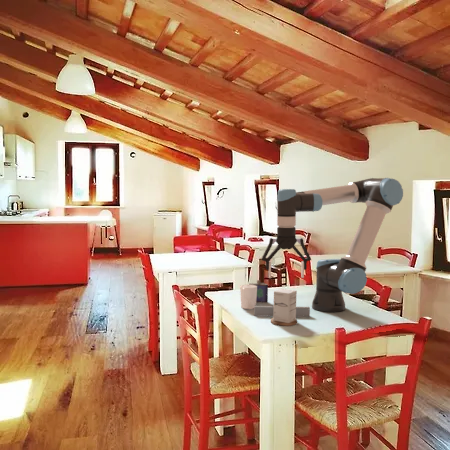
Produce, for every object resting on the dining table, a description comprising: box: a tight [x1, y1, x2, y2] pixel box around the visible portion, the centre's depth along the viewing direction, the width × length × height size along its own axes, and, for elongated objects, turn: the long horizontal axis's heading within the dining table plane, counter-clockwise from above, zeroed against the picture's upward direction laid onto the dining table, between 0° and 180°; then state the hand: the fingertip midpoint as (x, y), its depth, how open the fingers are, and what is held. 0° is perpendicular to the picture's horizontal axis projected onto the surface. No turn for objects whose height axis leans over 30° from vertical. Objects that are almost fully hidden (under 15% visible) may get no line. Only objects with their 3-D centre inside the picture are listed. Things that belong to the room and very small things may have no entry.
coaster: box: [270, 317, 298, 327], centre depth 208 cm, size 11×11×1 cm
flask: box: [248, 279, 269, 304], centre depth 243 cm, size 9×3×11 cm, turn 79°
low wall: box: [253, 305, 311, 318], centre depth 218 cm, size 24×2×4 cm, turn 88°
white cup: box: [239, 284, 257, 310], centre depth 232 cm, size 8×8×10 cm
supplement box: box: [272, 288, 298, 323], centre depth 207 cm, size 7×7×13 cm
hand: (286, 277), depth 207 cm, fingers open, 13 cm apart
